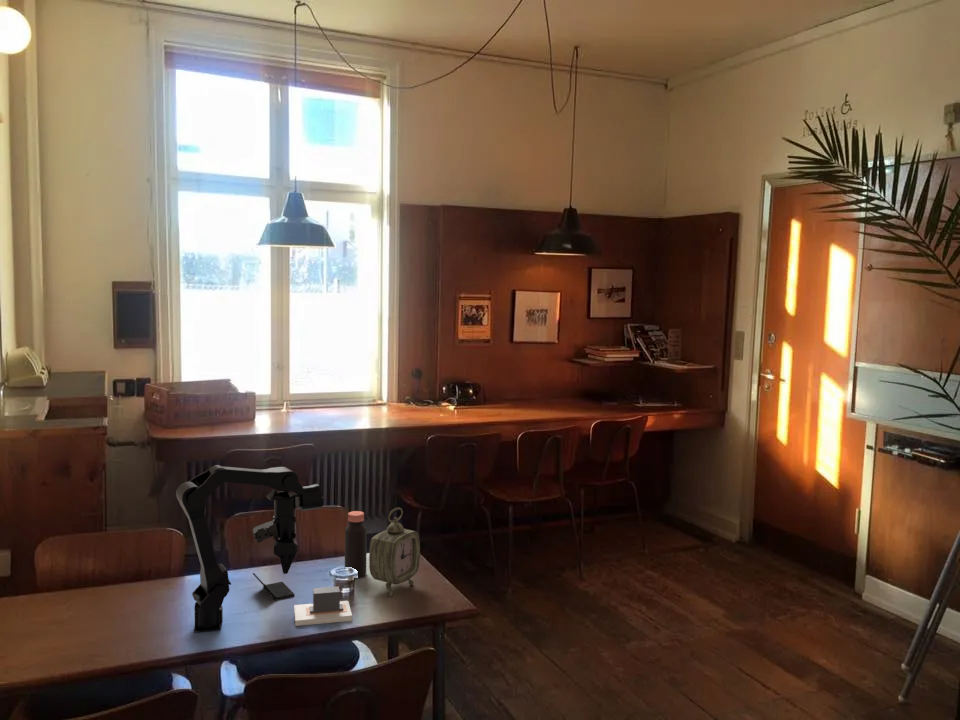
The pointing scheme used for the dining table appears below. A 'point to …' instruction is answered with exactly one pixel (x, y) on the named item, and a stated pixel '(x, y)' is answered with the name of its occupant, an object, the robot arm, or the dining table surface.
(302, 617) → the header board
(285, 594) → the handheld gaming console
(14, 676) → the dining table surface
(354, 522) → the bottle
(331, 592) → the connector housing
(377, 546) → the tabletop clock
